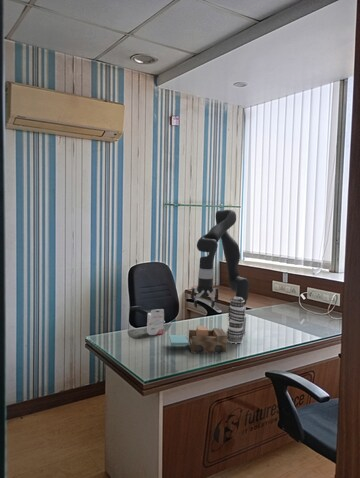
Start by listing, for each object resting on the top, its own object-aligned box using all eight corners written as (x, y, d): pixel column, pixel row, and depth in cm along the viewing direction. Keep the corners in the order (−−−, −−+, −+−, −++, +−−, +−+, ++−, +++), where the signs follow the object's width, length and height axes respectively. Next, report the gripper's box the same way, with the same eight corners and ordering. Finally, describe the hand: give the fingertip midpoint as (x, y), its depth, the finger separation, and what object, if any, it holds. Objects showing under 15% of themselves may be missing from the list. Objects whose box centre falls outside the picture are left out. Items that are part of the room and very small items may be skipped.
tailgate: (187, 334, 216) (169, 334, 215) (190, 343, 204) (171, 342, 203) (186, 337, 216) (168, 337, 215) (190, 345, 204) (171, 345, 203)
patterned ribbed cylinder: (223, 339, 228) (226, 296, 225) (237, 338, 231) (240, 295, 229) (231, 344, 219) (234, 300, 217) (245, 343, 223) (249, 299, 220)
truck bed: (220, 343, 220) (221, 327, 219) (226, 353, 206) (227, 336, 205) (187, 343, 218) (188, 327, 217) (191, 353, 204) (192, 335, 203)
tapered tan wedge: (205, 338, 215) (205, 325, 214) (207, 343, 208) (208, 330, 207) (195, 338, 214) (196, 325, 214) (197, 343, 207) (198, 329, 207)
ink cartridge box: (159, 331, 235) (161, 306, 234) (163, 333, 231) (164, 308, 230) (146, 332, 232) (147, 307, 230) (149, 335, 227) (151, 310, 226)
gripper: (217, 275, 212) (215, 305, 214) (190, 275, 211) (189, 305, 212) (220, 278, 205) (218, 309, 207) (193, 278, 203) (191, 309, 205)
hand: (203, 307), depth 209 cm, fingers open, 8 cm apart
